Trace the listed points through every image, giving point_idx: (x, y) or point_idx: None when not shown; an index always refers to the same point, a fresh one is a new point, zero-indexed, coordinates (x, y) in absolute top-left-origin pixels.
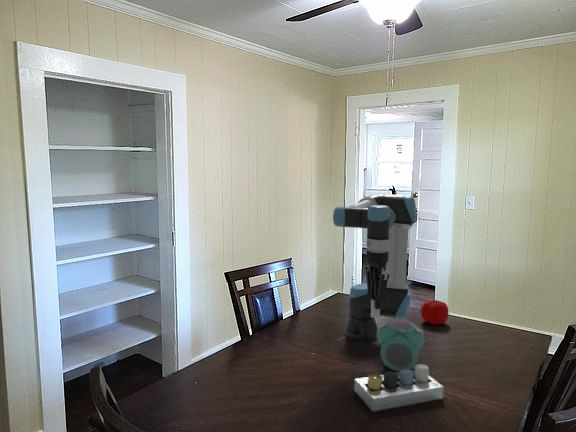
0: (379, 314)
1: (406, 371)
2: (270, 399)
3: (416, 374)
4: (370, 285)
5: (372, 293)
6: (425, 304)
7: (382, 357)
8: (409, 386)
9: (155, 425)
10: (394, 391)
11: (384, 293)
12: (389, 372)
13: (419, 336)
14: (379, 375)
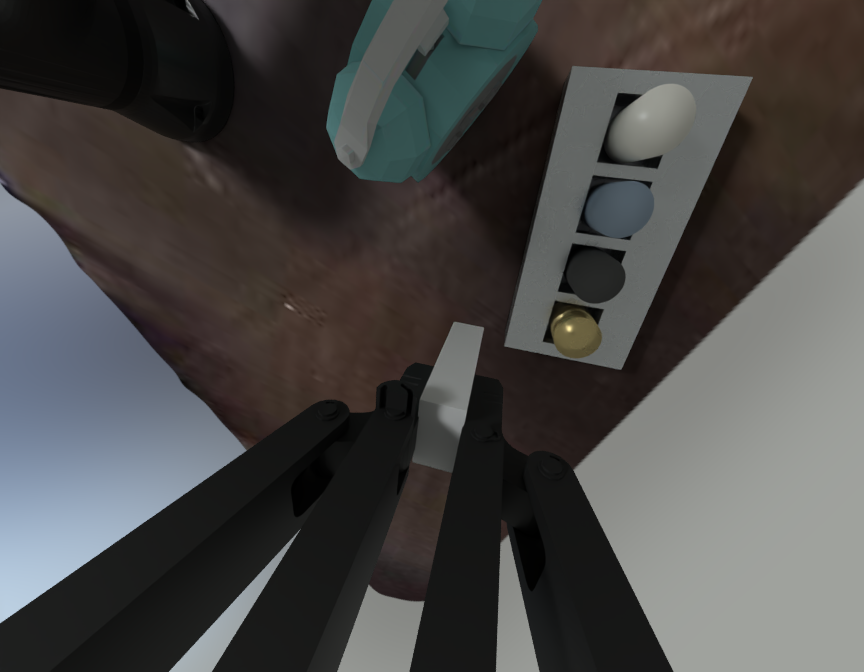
0: (481, 337)
1: (618, 206)
2: (449, 476)
3: (638, 159)
4: (272, 540)
5: (396, 499)
6: None
7: (427, 173)
8: None
9: None
10: (632, 291)
11: (608, 562)
12: (582, 274)
13: None
14: (577, 318)
